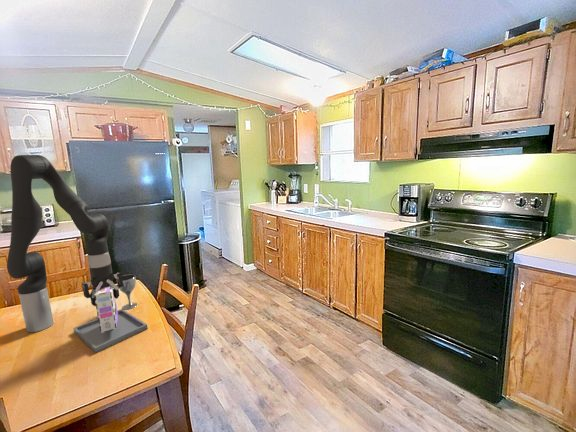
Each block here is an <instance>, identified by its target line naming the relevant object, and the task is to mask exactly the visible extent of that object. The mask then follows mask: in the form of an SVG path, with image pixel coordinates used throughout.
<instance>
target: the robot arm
mask: <svg viewBox="0 0 576 432" xmlns="http://www.w3.org/2000/svg"><path fill="white" fill-rule="evenodd" d="M10 179H11V191H12V198H11V199H12V203H11V205H12V206H11V217H10V220H11V221H10V222H11V223H10V224H11V225H10V228H11V230H10V243H9V249H8V253H7V254H8V255H7V261H6V270H7V272H8V275H9V276H10V277H11V278H12V279H14V280H20V279H23V278H26V279H25V280H24V281H23V282H22V283H21V284H19V285H18V286H17V293H18V297H19V301H20V307H21V312H22V316H23V319H24V325H25V329H26V332H27V333H36V332H37V333H38V332H40V331H41V332H42V331H43V330H46V329H48V328H50V327H52V325H54V323H55V322H54V318H53V317H54V316H53V312H52V306H51V302H50V296H49V292H48V288H47V282H48V280H47V279H48V277H47V268H46V261H45V259H44V257H43V255H42V254H41V253H40V252H38V251H31V252H28V250H29V246H30V245H31V243H32V242H33V241H34V239H35V238H36V237H37V236H38V233H39V232H40V230H41V228H42V224H43V210H42V207H41V205H40V203H38V201H37V199H36V198H35V197H34V195H33V190H32V183H33V180H37V179H39V180H41V179H42V180H43V181H44V182H46V184H48V185H49V186H50V188H51V189H52V192H53V197H54V200H55V202H56V203H57V205H58V206H59V207H60V208H61V209H63V211H64V212H65V213H67V214H68V215H69V216H70V218H71V220H72V221H73V224H74V225H75V227H76V229H77V230H78V231H79V232H80V233H83V234H85V235H91V237H90V238H89V239H88V240H87V241H86V242H85V246H86V247H85V248H86V252H87V263H88V268H89V269H88V270H89V275H90V281H87V282H82V283H81V285H82V291H83V293H82V294H83V296H84V297H85V298H86V299H90V304H91V305H92V306H94V307H96V303H95V297H94V295H95V292H96V291H98V290H99V289H102V288H105V287H108V286H110V285H111V286H112V287H113V288H114V289H113V291H114V297H115V300H116V299H119V297H120V289H119V288H120V287H123V282H122V276H123V275H122V273H121V272H118V271H117V272H116V273H114V274H113V268H112V260H111V256H110V252H109V247H108V246H109V245H108V236H109V228H110V227H109V226H110V224H109V220H108V218H107V217H106V216H105V215H104V214H102V213H94V214H91V215H88V214H87V212H88V211H89V205H88V204H87V203H86V202H85V201H84V200H83V199H82V198H81V197H80V196H79V195H78V194H77V193H76V192H74V191H73V189H72V188H71V187H70V186H69V185H68V183H67V182H66V181H65V179H64V178H63V177H62V175H61V174H60V173H59V172H58V170H57V169H56V167H55V166H54V165H53V163H52V162H51V161H50V160H49V159H48V158H46V156H44V155H40V154H19V155H15V156H14V157H12V159H11V162H10ZM114 279H116V284H115V283H114V282H113V281H114ZM91 286H92V288H91V291H90V290H89V288H90V287H91Z"/></svg>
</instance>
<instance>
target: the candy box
mask: <svg viewBox="0 0 576 432" xmlns="http://www.w3.org/2000/svg"><path fill="white" fill-rule="evenodd" d="M113 289H114V288H113V287H112V286H111V285H110V286H108V287H105V288H102V289H99V290H98V291H96V292H95V295H94V297H95V303H96V306H95V308H96V314H97V319H98V321H99V327H100V333H104V332H108V331H112V330H116V329H117V321H118V312H117V311H118V306H117V302H116V301H117V300H116V298H115V297H114V291H113Z"/></svg>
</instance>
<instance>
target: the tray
mask: <svg viewBox="0 0 576 432" xmlns="http://www.w3.org/2000/svg"><path fill="white" fill-rule="evenodd" d="M117 312H118V321H117V329H116V330H112V331H108V332H104V333H100V327H99V321H98V318H96V319H93V320H91V321H88V322H85V323H82V324H81V325H78V326H75V327H73V328H72V329H73V330H72V331H73V333H74V334H75V335H76V336H77V337H78V338H79V339H80V340H81V341H83V343H84V344H86V346H88V347H89V348H90V349H91V350H92V351H93V353H95V354H97V353H99V352H101V351H104V350H106V349H108V348H110V347H112V346H114V345H116V344H119V343H120V342H123V341H125V340H127V339H129V338H131V337H134V336H135V335H137V334H140V333H142V332H143V331H144V332H145V331H146V330H148V324H147V323H146V322H144V321H142V320H141V319H139V318H138V317H136V316H134V315H132V314H131V313H130V312H128V311H126V310H124V309H122V308H121V309H119V310H117Z"/></svg>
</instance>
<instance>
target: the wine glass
mask: <svg viewBox="0 0 576 432" xmlns="http://www.w3.org/2000/svg"><path fill="white" fill-rule="evenodd" d="M136 281H137V280H136V275H135V274H130V273H129V274H124V275H122V282H123V287H120V288H119V292H122V293H123V294H125V295H126V297H127V299H128V300H127V301H128V303H127V304H124V305H123V306H122V307H121V309H123V310H125V311H126V310H133V309H135V308H137V307H138V306H137V303H138V302H131V294H132V292H133V291H134V290H135V288H136V284H137V283H136ZM136 306H137V307H136ZM134 307H135V308H134ZM132 308H133V309H132Z"/></svg>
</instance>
